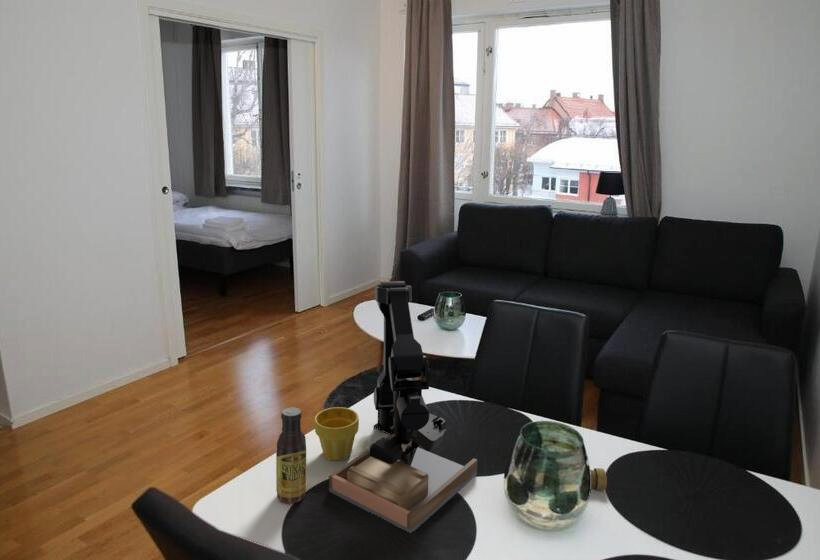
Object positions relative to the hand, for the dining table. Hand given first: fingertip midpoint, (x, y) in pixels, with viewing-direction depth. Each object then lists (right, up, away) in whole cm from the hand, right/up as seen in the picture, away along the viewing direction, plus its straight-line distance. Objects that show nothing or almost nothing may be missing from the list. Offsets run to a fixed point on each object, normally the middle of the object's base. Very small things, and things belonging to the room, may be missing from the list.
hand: (406, 470), depth 131 cm
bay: (0, -3, 0) cm, 3 cm away
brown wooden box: (-4, -3, -4) cm, 7 cm away
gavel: (+39, -2, +9) cm, 40 cm away
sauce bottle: (-24, -4, -5) cm, 25 cm away
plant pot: (-17, 0, +12) cm, 20 cm away
